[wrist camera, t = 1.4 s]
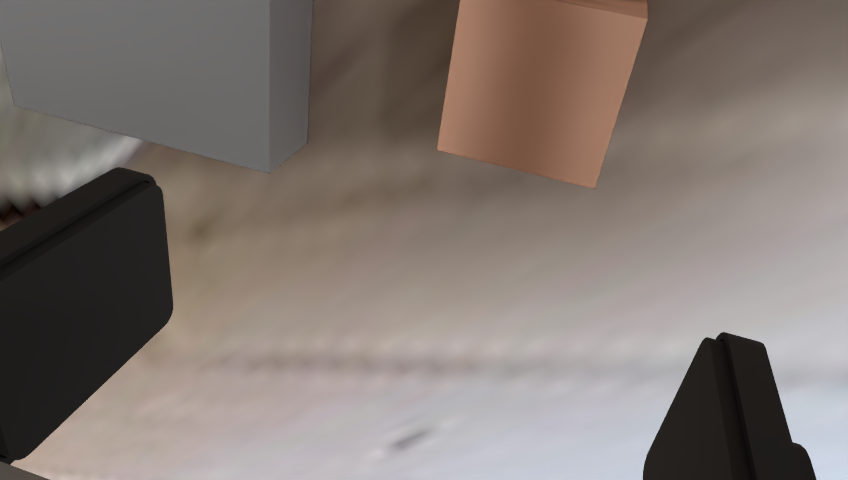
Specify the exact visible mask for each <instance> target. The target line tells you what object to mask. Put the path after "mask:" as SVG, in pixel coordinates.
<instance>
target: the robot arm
mask: <svg viewBox="0 0 848 480" xmlns="http://www.w3.org/2000/svg"><path fill="white" fill-rule="evenodd" d="M172 311H173V297H172V287H171V276H170V265H169V255H168V244H167V233H166V223H165V212H164V201H163V193H162V190H161V188H160V187H159V186H157V185H156V182H155V180H154V178H153V177H151V176H150V175H147V174H144V173H140V172H136V171H133V170H129V169H126V168H120V167H118V168H115V169H112V170H110V171H109V172H107V173H105V174H103V175H101V176H99V177H98V178H96V179H94V180H92V181H90V182H89V183H87V184H85V185H83V186H81V187H80V188H78V189H76V190H74V191H72V192H71V193H69V194H67V195H65V196H63V197H62V198H60V199H58V200H56V201H54V202H53V203H51V204H49V205H47V206H45V207H44V208H42V209H40V210H38V211H36V212H35V213H33V214H31V215H29V216H27V217H26V218H24V219H22V220H20V221H18V222H17V223H15V224H13V225H11V226H9V227H8V228H6V229H4V230H2V231H0V480H49V479H46V478H44V477H41V476H38V475H35V474H33V473H30V472H27V471H25V470H22V469H19V468H17V467H14V466H11V465H10V464H11V463H12V462H13V461H14V460H21V459H23V458H25V457H26V456H28V455H29V454H30V453H31V452H32V451H33V450H35V449H36V448H37V447H38V446H39V445H40V444H41V443H42V442H43V441H44V440H45V439H46V438H47V437H48V436H49V435H50V434H51V433H52V432H53V431H54V430H56V429H57V428H58V427H59V426H60V425H61V424H62V423H63V422H64V421H65V420H66V419H67V418H68V417H69V416H70V415H71V414H72V413H73V412H74V411H76V410H77V409H78V408H79V407H80V406H81V405H82V404H83V403H84V402H85V401H86V400H87V399H88V398H89V397H90V396H91V395H92V394H93V393H94V392H96V391H97V390H98V389H99V388H100V387H101V386H102V385H103V384H104V383H105V382H106V381H107V380H108V379H109V378H110V377H111V376H112V375H113V374H114V373H116V372H117V371H118V370H119V369H120V368H121V367H122V366H123V365H124V364H125V363H126V362H127V361H128V360H129V359H130V358H131V357H132V356H133V355H134V354H136V353H137V352H138V351H139V350H140V349H141V348H142V347H143V346H144V345H145V344H146V343H147V342H148V341H149V340H150V339H151V338H152V337H153V336H154V335H156V334H157V333H158V332H159V331H160V330H161V329H162V328H163V327H164V326H165V325H166V324H167V322H168V321H169V319H170V317H171V315H172ZM643 480H816V477H815V473H814V470H813V467H812V464H811V460H810V458H809V456H808V453H807V451H806V449H804V448H803V447H802V446H801V445H800V444H797V443H793V442H792V439H791V436H790V432H789V429H788V425H787V422H786V418H785V415H784V411H783V408H782V404H781V401H780V397H779V394H778V390H777V387H776V383H775V380H774V376H773V372H772V369H771V365H770V362H769V358H768V355H767V351H766V348H765V346H764V344H763V343H761V342H758V341H754V340H751V339H747V338H743V337H740V336H736V335H733V334H729V333H725V332H723V333H720V334H719V335H718V336H717V338H716V340H715V339H711V338H708V337H707V338H705V339H704V340H703V341H702V343H701V344H700V346H699V348H698V350H697V352H696V354H695V357H694V359H693V361H692V363H691V365H690V367H689V369H688V371H687V373H686V375H685V377H684V379H683V381H682V383H681V386H680V388H679V390H678V392H677V394H676V396H675V398H674V400H673V402H672V404H671V406H670V408H669V410H668V412H667V415H666V417H665V419H664V421H663V423H662V425H661V427H660V429H659V431H658V433H657V435H656V437H655V439H654V441H653V444H652V446H651V448H650V450H649V452H648V454H647V457H646V460H645V464H644V470H643Z"/></svg>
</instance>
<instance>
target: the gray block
mask: <svg viewBox="0 0 848 480" xmlns="http://www.w3.org/2000/svg"><path fill="white" fill-rule="evenodd" d="M312 9H313V0H0V43H1V47H2V52H3V56H4V61H5V65H6V70H7V74H8V79H9V84H10V88H11V93H12V97H13V102H14V106H18V107H22V108H26V109H29V110H33V111H37V112H41V113H44V114H48V115H52V116H55V117H59V118H63V119H67V120H70V121H74V122H78V123H82V124H85V125H89V126H93V127H96V128H100V129H104V130H108V131H111V132H115V133H119V134H123V135H126V136H130V137H134V138H138V139H141V140H145V141H149V142H152V143H156V144H160V145H164V146H167V147H171V148H175V149H179V150H182V151H186V152H190V153H194V154H197V155H201V156H205V157H208V158H212V159H216V160H220V161H223V162H227V163H231V164H235V165H238V166H242V167H246V168H250V169H253V170H257V171H261V172H264V173H268V174H269V173H271V172H272V171H273V170H274V169H276V168H277V167H278V166H279V165H281V164H282V163H283V162H284V161H286V160H287V159H288V158H289V157H291V156H292V155H293V154H294V153H296V152H297V151H298V150H299V149H301V148H302V147H303V146H304V145H306V144H307V139H308V113H309V87H310V61H311V35H312Z"/></svg>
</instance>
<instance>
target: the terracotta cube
mask: <svg viewBox="0 0 848 480" xmlns="http://www.w3.org/2000/svg"><path fill="white" fill-rule="evenodd" d="M647 20H648V12H647V0H460V4H459V11H458V17H457V24H456V30H455V36H454V43H453V49H452V55H451V62H450V68H449V75H448V81H447V87H446V94H445V100H444V106H443V113H442V119H441V126H440V132H439V138H438V145H437V150H439V151H443V152H447V153H451V154H455V155H459V156H463V157H467V158H471V159H475V160H479V161H484V162H488V163H492V164H496V165H500V166H504V167H508V168H512V169H516V170H520V171H524V172H528V173H532V174H536V175H540V176H544V177H548V178H552V179H556V180H560V181H564V182H568V183H572V184H576V185H580V186H584V187H588V188H592V189H595V187H596V183H597V180H598V177H599V174H600V171H601V167H602V164H603V161H604V158H605V155H606V151H607V148H608V145H609V142H610V139H611V135H612V132H613V129H614V126H615V123H616V119H617V116H618V113H619V110H620V107H621V104H622V100H623V97H624V94H625V91H626V88H627V84H628V81H629V78H630V75H631V72H632V68H633V65H634V62H635V59H636V56H637V52H638V49H639V46H640V43H641V40H642V36H643V33H644V30H645V27H646V24H647Z"/></svg>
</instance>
